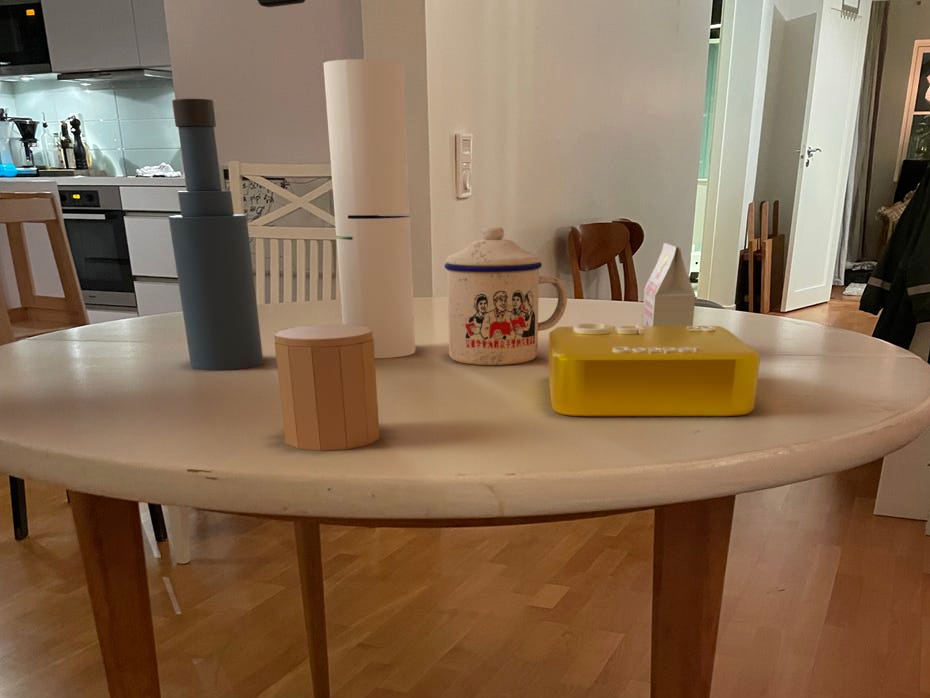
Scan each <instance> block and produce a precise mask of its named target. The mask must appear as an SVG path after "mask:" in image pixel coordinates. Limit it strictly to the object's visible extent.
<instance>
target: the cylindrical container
mask: <svg viewBox="0 0 930 698" xmlns="http://www.w3.org/2000/svg"><path fill="white" fill-rule="evenodd" d="M404 67H405V66H404V62H402V61H398V60H392V59H391V60H390V59H379V58H378V59H377V58H375V59H373V58H359V59H358V58H351V59H337V60H335V59H334V60H328V61H325V62H323V75H324V76H323V77H324V90H325V102H326V115H327V118H326V119H327V129H328V143H329V155H330V170H331V182H332V183H331V184H332V197H333V211H334V224H335V236H336V249H337V264H338V265H337V266H338V277H339V289H340V290H339V291H340V301H341V302H340V303H341V316H342V325H356V326H363V327H367V328H370V329H371V330H372V336H373V340H374V356H375V359H390V358H391V359H392V358H400V357H406V356H410V355H413V354H415V353H416V333H415V332H416V331H415V329H416V328H415V309H414V308H415V306H414V287H413V286H414V284H413V283H414V282H413V261H412V238H411V237H412V234H411V216H409V214H410V213H411V211H410V189H409V163H408V141H407V140H408V138H407V118H406V117H407V116H406V115H407V113H406V112H407V111H406V92H405V90H406V89H405V88H406V87H405V68H404ZM337 236H338V237H337Z"/></svg>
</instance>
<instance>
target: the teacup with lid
mask: <svg viewBox="0 0 930 698" xmlns="http://www.w3.org/2000/svg"><path fill="white" fill-rule="evenodd" d="M504 233H505V231H504V228H503V227H501V226H485V227H484V228H482V231H481V237H482V238H483V239H477V240H475V241H472V242H471V243H469V244H468V245H467V246H466V247H464V248H463V249H462V250H460V251H457V252H456V253H453V254H450V255H449V256H447V257H446V259H445V264H444V269H446V279H447V315H448V317H447V321H448V354H449V357H450V358H451V360H453V361H454V362H458V363H461V364H465V365H466V364H467V365H475V366H506V365H515V364H516V365H518V364H524V363H527V362H530V361H533V360H534V359H535V358H537V356H538V353H539V351H538V349H539V332H541V331H546V330H549V329H552V328H553V327H555V326H556V325H557V324H558V323H559V322H560V321H561V319H562V317H563V316H564V314H565V311H566V309H567V304H568V291H567V287H566V286H565V284H564V283H563V282H562V280H561V279H560V278H557V277H555V276H553V275H546V274H545V275H544V274H543V275H540V269H541V268H542V266H543V264H542V262H541V258H540V256H539V255H538V254H536V253H532V252H530V251H527V250H526V249H523V248H522V247H521V246H520V245H519V244H517V243H516V242H515V241H512V240H510V239H505V238H504V236H505V234H504ZM540 284H541V285H542V284H551V285H552V286H554V288H555V289H556V291H557V304H556V307H555V309H554V312H553V313H552V315H550V317H549V318H548V319H545V320H543V321H541V322H539V301H540V300H539V296H540V295H539V294H540V289H539V288H540Z"/></svg>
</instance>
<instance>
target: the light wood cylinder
mask: <svg viewBox="0 0 930 698" xmlns="http://www.w3.org/2000/svg"><path fill="white" fill-rule="evenodd" d="M273 338H274V349H275V359H276V368H277V376H278V378H277V379H278V387H279V395H280V406H281V415H282V424H283V425H282V426H283V433H284V442H285V444H286V445H287V446H290V447H293V448H295V449H298V450H306V451H308V450H309V451H317V452H327V451H329V452H330V451H344V450H345V451H346V450H351V449H355V448H360V447H365V446H369V445H371V444H373V443H375V442H376V441H378V440H379V439H380V423H379V408H378V407H379V406H378V391H377V388H378V387H377V373H376V358H375V356H374V340H373V336H372V330H371V329H370V328H367V327H363V326H356V325H343V324H313V325H312V324H311V325H302V326H301V325H300V326H293V327H286V328H282V329H279V330H276V331H275V332H274V333H273Z"/></svg>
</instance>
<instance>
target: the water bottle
mask: <svg viewBox="0 0 930 698" xmlns="http://www.w3.org/2000/svg"><path fill="white" fill-rule="evenodd" d="M171 104H172V109H173V117H174V118H173V119H174V126H175V127H176V128H177V129H178V136H179V143H180V150H181V151H180V152H181V158H182V165H183V171H184V179H185V185H186V190H179V191H177V197H178V202H179V210H180V215H170V216H168V222H169V229H170V236H171V243H172V249H173V255H174V262H175V270H176V275H177V282H178V289H179V295H180V302H181V309H182V314H183V315H182V316H183V322H184V329H185V336H186V341H187V348H188V349H187V350H188V357H189V363H190V366H191V368H192V369H196V370H202V371H235V370H243V369H249V368H254V367H257V366H258V367H259V366H260V365H262V364H263V363H264V356H263V348H262V339H261V330H260V329H261V328H260V321H259V312H258V303H257V294H256V286H255V278H254V270H253V259H252V251H251V243H250V234H249V226H248V225H249V224H248V216H247V214H241V213H240V214H237V213H235V212H234V204H233V203H234V202H233V196H232V190H223V188H222V181H221V174H220V164H219V155H218V149H217V141H216V134H215V133H216V132H215V128H216V127H217V121H216V115H215V114H216V113H215V105H214V100H213V99H209V98H174V99H172V100H171Z"/></svg>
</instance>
